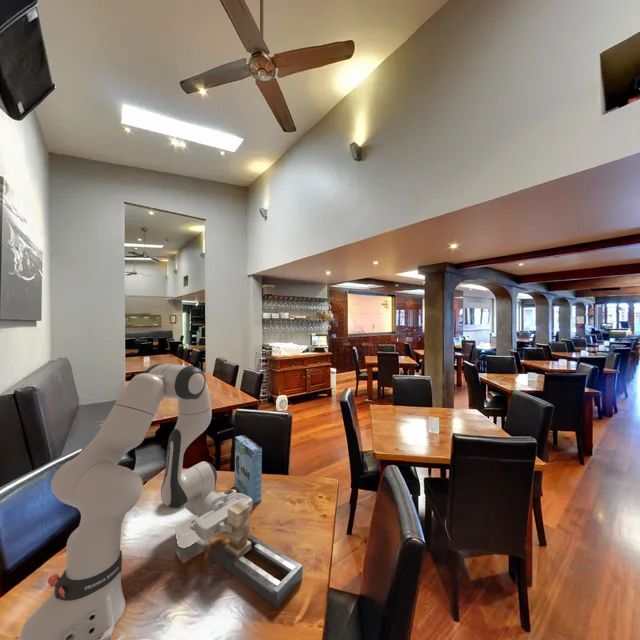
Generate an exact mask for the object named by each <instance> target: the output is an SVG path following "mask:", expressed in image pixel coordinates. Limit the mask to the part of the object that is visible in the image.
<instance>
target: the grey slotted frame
mask: <svg viewBox="0 0 640 640" xmlns="http://www.w3.org/2000/svg"><path fill="white" fill-rule="evenodd" d="M247 540H248V541H250V542H251V549H250V550H249V551H248V552H251V553H252V554H254V555H255V556H257V557H259V558H260V559H262V560H263V561H265V562H266V563H268V564H269V565H271V566H273V567H274V568H275V569H277V570H279V571H280V572H281V573H283V574H285V577H284V578H282V579H281V581H280V580H279V579H277V578H276V577H274V576H273V575H271V574H270V573H268V572H266V571H265V570H264V569H263V568H261V567H259V566H257V564H254V563H253V562H252V561H251V560H249V559H247V558H246V557H245V556H244V555H243V556H241V557H240V558H239V559H238V558H236V557H235V556H233V555H232V554H230V553H229V552H227V551H226V550H225V548H224V547H221V545H219V544H217V545H216V546H214V547H213V561H214V562H215V563H216V564H218V565H219V566H220V567H222V568H223V569H225V570H226V571H227V572H228V573H230V574H231V575H232V576H234V577H235V578H237V579H238V580H239V581H240V582H242V583H243V584H244V585H246V586H247V587H249V588H250V589H251V590H253V591H254V592H255V593H256V594H257V595H259V596H261V598H263V599H264V600H266V601H267V602H269V603H270V604H271V605H273V606H274V607H275V608H278V607H279V606H280V605H281V604H282V603H283V602H284V600H285V599H286V598H287V597H288V596H289V595H290V593H291V592H292V591H293V590H294V589H295V588H296V587H297V586H298V585H299V584H300V583H301V581H302V580H303V564H301V563H300V562H297V561H296V560H294V559H292V557H289V556H287V555H285V554H284V553H282V552H280V551H279V550H278V549H276V548H274V547H272V546H271V545H270V544H268V543H265V542H264V541H262V540H261V539H259V538H257V537H255V536H254V535H252V534H250V532H249V533H248V534H247Z"/></svg>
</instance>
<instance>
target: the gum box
mask: <svg viewBox="0 0 640 640" xmlns="http://www.w3.org/2000/svg"><path fill="white" fill-rule="evenodd" d="M262 452H263V447H261V446H259V445H258V444H257V443H256V442H254V441H253V440H252V439H250V438H249V437H247V436H246V435H244V434H243V435H242V434H241V435H238V436H235V437H234V486H235V487H236V489H237V490H238V491H239V493H242V494H244V495H246V496H248V497H250V498H251V499H252V505H255V504H257V503H259V502H262V488H263V487H262V483H263V482H262V477H263V476H262V475H263V474H262V471H263V468H262V466H263V464H262V462H263V458H262V456H263V453H262Z"/></svg>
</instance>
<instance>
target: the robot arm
mask: <svg viewBox="0 0 640 640" xmlns="http://www.w3.org/2000/svg"><path fill="white" fill-rule="evenodd" d="M208 385H209V384H208V382H207V380H206V376H205V374H204V372H203V370H201V369H200V368H198V367H196V366H193V365H183V364H178V363H157V364H153V365H151V366H149V367H148V368H146V369H145V371H144V372H141V373H138V374H136V375H135V376H133V377H132V378H131V379H130V381H129V382H128V384H127V385H126V386H125V387H124V389H122V391H121V393H120V395H119V396H118V398H117V400H116V401H115V403H114V405H113V406H112V409H111V410H110V412H109V414H108V415H107V417H106V418H105V421H104V422H103V424H102V426H101V427H100V429H99V430H98V431H97V433H96V435H95V436H94V438H93V439H92V440H91V441H90V443H88V445H86V446H85V448H84V449H82V450H81V452H80V453H79V454H78V455H76V456H75V457H73V458H72V459H71V460H68V461H67V462H65V463H63V464H62V465H60V467H59V468H58V469H57V470H56V472H55V473H54V475H53V476H52V479H51V482H50V489H51V492H52V493H53V495H54V496H55V497H56V498H57V499H58V500H59V501H60V502H61V503H62V504H66V505H68V506H69V507H70V506H71V507H74V508H76V509H77V510H78V511H79V513H80V522H79V525H78V527H76V528H75V529H74V530H73V531H72V532H71V534H70V535H69V537H68V538H67V542H66V557H65V558H66V560H65V569H64V572H63V574H62V575H61V576H59V574H58V573H52V574H51V575H50V576H49V578H48V579H47V584H48V585H49V586H50V587H51V588H53V587H54V589H53V590H54V591H53V592H52V593H51V594H50V595H49V596H48V597H47V598H46V600H45V601H44V602H42V603H41V604H40V605H39V607H37V609H35V611H34V612H33V613H31V614H30V615H29V617H28V618H27V619H26V621H25V623H24V625H23V626H22V629H21V632H20V635H19V638H18V639H17V640H98V639H99V640H108V639H109V638H110V639H111V638H112V635H113V634H114V629H115V626H116V625H117V623H118V621H120V619H121V617H122V616H123V614H124V613H125V612H124V611H125V610H126V604H127V603H126V598H125V596H124V594H123V593H124V592H123V588H122V580H121V572H122V567H123V553H122V550H121V539H122V528H123V527H122V526H123V521H124V518H125V516H126V514H127V513H128V512H130V511H131V510H132V509H133V508H134V507H135V505H136V504H137V503H138V501H139V500H140V498H141V495H142V493H143V487H144V483H143V479H142V477H141V476H140V475H139V474H137V473H136V472H135V471H133V470H132V469H130V468H129V467H126V466H122V465H120V464H119V463H120V461H122V459H123V458H124V456H126V454H128V452H130V451H131V450H133V449H135V448H137V447H138V446H140V445H141V444H142V442H143V441H144V439H145V437H146V435H147V433H148V431H149V429H150V426H151V424H152V422H153V420H154V418H155V416H156V413H157V411H158V409H159V408H160V407H159V406H160V403H161V402H162V401H163V400H164V399H165V398H168V399H177V401H178V402H177V404H178V405H177V411H178V416H177V420H176V424H175V426H174V428H173V430H172V431H171V433H170V434H169V436H168V443H167V449H166V458H165V468H164V476H163V480H162V485H161V488H160V498H161V501H162V504H163V505H164V506H165V507H167V508H168V509H169V508H170V509H175V510H178V509H180V508H181V507H182V506H183V507H184V508H185V509H186V510H187V511H188V512H189V513H191V514H193V515H194V516H197V518H195V519H193V520H191V523H190V524H189V529H191V530H192V531H194V533H195V534H196V535H197V536H198V538H199V539H201V540H202V541H207V540H209V539H210V538H212V537H213V536H215V535H216V534H218V533H219V532H220V533H227V532H228V533H232V532H233V531H234V525H232V524H229V525H227V521H228V508H229V507H231V506H232V505H234V504H236V503H237V502H239V501H241V502H243V503H245V504H247V505H249V506H250V511H252V510H253V504H252V499H251V498H250V497H248V496H246V495H244V494H242V493H241V492H237V490H236V489H230V490H227V491H222V492H221V491H220V492H215V490H216V487H217V481H218V480H217V479H218V473H217V469H216V467H214V466H213V465H212V463H210V462H208V461H203V460H202V461H200V462H198V463H197V464H194V465H193V466H190V467H189V468H187V469H184V470H185V471H183V462H184V454H185V452H186V449H187V448H188V447H189V446H190V444H192V443H193V442H194V441H195V440H196V439H197V438H198V437H200V435H201V434H203V433H204V432H205V431H206V430H207V428H208V427H209V425H210V424H211V420H212V416H213V415H212V414H213V413H212V412H213V411H212V410H213V409H212V399H211V393H210V390H209V386H208ZM182 471H183V472H182ZM110 639H109V640H110Z"/></svg>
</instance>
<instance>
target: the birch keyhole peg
mask: <svg viewBox="0 0 640 640" xmlns="http://www.w3.org/2000/svg"><path fill="white" fill-rule="evenodd" d="M250 513H251V510H250V506H249V505H247V504H245V503H243V502H241V501H239V502H237V503H236V504H234V505H232V506H231V507H229V508H228V521H227V525H229V524H232V525H234V531H233V532H232V533H228V532H226V535H227V536H228V537H229V539H228V540H229V542H228V543H227V544H225V545H224V549H225V550H226V551H227V552H229V553H230V554H232V555H233V556H235V557H236V558H238V559H239V558H240V557H241V556H243V557H244V556H245V555H246V554H247V553H248V552H250V551H249V550H250V549H251V542H250V541H248V540H247V534H248V533H249V534H250V528H251V527H250V520H251V519H250V518H251V517H250V516H251V514H250Z"/></svg>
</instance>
